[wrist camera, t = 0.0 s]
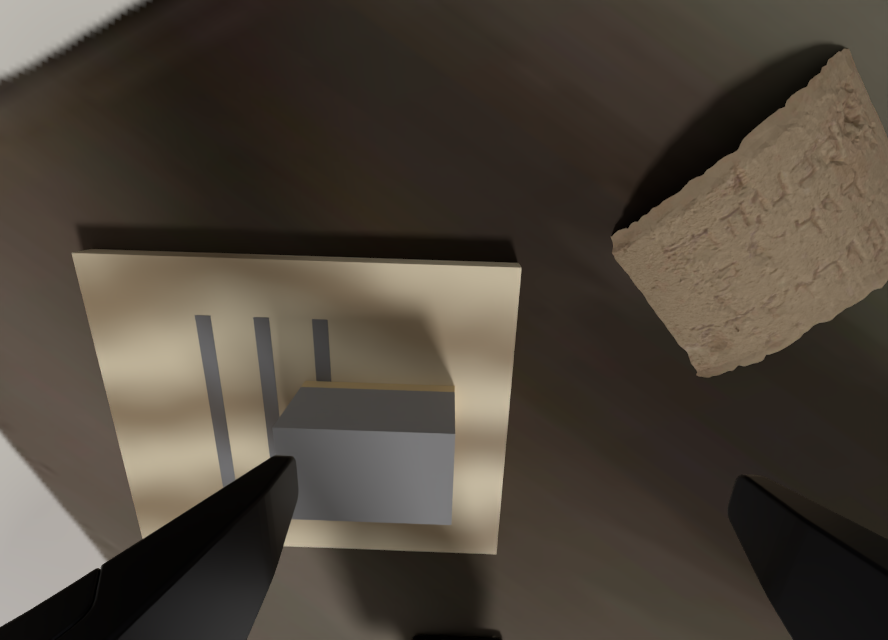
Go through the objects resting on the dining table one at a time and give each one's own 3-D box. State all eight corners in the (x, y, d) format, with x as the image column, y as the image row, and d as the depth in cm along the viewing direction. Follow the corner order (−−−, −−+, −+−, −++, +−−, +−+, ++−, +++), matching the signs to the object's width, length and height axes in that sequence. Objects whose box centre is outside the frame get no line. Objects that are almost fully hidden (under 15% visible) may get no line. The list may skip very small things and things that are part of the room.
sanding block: (451, 464, 25) (451, 524, 21) (311, 459, 25) (282, 518, 21) (454, 385, 23) (455, 433, 19) (305, 380, 23) (272, 427, 19)
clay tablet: (688, 380, 25) (715, 404, 22) (581, 250, 23) (597, 259, 20) (940, 204, 21) (1007, 208, 19) (845, 29, 19) (905, 7, 17)
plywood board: (494, 538, 28) (496, 554, 27) (155, 525, 28) (142, 540, 27) (517, 262, 22) (521, 267, 21) (90, 249, 22) (71, 252, 21)
